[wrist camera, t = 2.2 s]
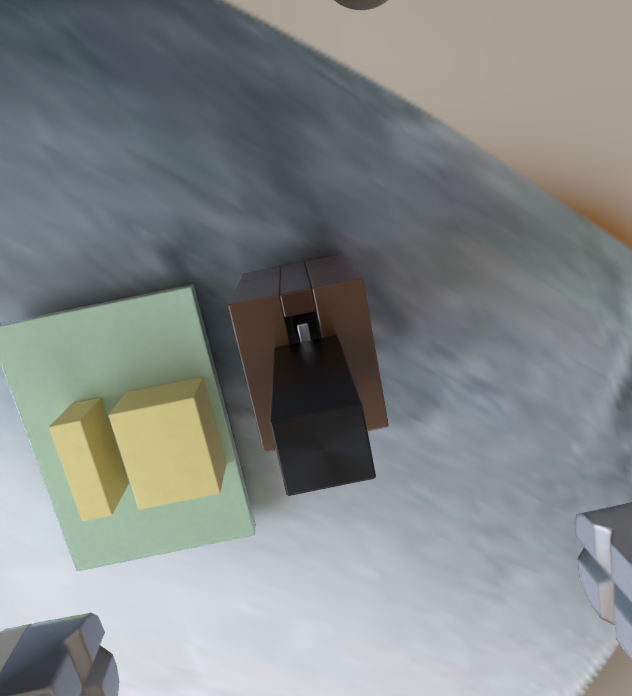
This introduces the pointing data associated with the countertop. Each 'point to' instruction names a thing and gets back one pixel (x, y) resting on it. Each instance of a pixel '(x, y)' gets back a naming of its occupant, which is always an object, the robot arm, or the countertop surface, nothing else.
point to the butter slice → (89, 458)
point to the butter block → (169, 443)
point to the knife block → (277, 330)
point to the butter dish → (110, 385)
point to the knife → (317, 416)
